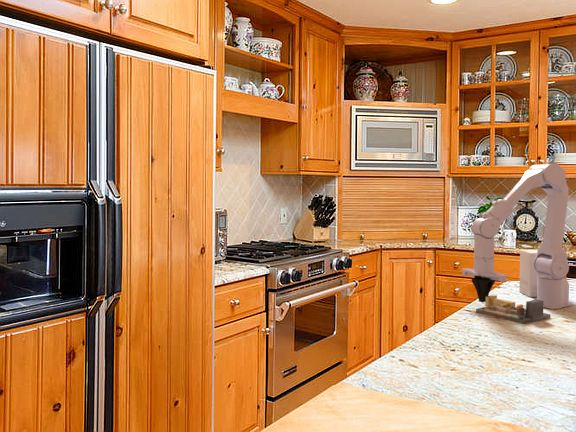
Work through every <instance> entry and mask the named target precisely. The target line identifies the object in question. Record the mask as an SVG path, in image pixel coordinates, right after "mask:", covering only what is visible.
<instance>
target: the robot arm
mask: <svg viewBox="0 0 576 432" xmlns="http://www.w3.org/2000/svg"><path fill="white" fill-rule="evenodd" d="M523 173H524V174H523V176H522V177H521V178H520V180H519V181H518V182H517V183H516V184H515V185H514V186H513V188H512V189H511V190H510V191H509V192H508V193H507V194H506V196H505V197H504V198H498V199H496V200H494V201H492V202H491V204H492V205H491V207H489V208H488V210H486V211H485V212H483V213H482V214H481V217H479V218H475V220H474V221H473V222H472V225H471V226H470V231H471V233H472V234H473V237H474V238H473V239H474V244H473V248H474V250H473V268H467V267H466V268H462V269H461V275H462V276H470V277H473V278H471V283H472V284H473V287H474V288H475V292H476V295H477V297H478V298H477V299H478V302H480V303H486V296H490V292H491V290H492V288H493V286H494V284H495V282H497V281H498V282H501V283H503V282H504V283H505V282H507V274H504V273H499V272H496V271H494V268H495V236H496V235H498V234H499V231H500V227H501V226H502V224H504V222H505V221H506V220H507V219H508V218H509V217H510V216H511V215H512V214H513V213H514V206H515V205H516V204H517V203H518V202H519V201H520V200H522V199H523V198H524V197H525V195H527V193H529V192H530V191H531V190H532V189H536V188H540V189H541V190H543V192H544V193H545V194H547V196H548V197H547V206H546V213H545V222H544V223H545V224H544V229H543V230H544V231H543V239H542V245H541V246H540V247H539V248H538V249H537V250H538V251H537V256H536V258H535V259H534V262H533V267H534V269H535V271H536V272H537V275H538V281H537V297H536V300H542V301H544V304H543V308H547V309H552V310H556V309H561V308H566V307H570V306H572V303H570V299H569V297H570V284H569V281H568V279H567V278H566V276H567V274H568V273H569V270H570V265H569V262H568V253H567V252H566V251H565V249H564V248H563V244H564V243H563V242H564V234H565V225H566V217H567V211H568V210H567V208H568V201H569V193H570V189H569V186H568V184H567V183H568V182H567V180H566V179H567V178H566V177H567V176H566V175H567V171H566V170H565V168H563V167H562V166H561V165H560V164H558V163H542V164H539V163H536V164H533V165H531V166H529V169H527V170H526V171H525V172H523Z"/></svg>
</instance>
